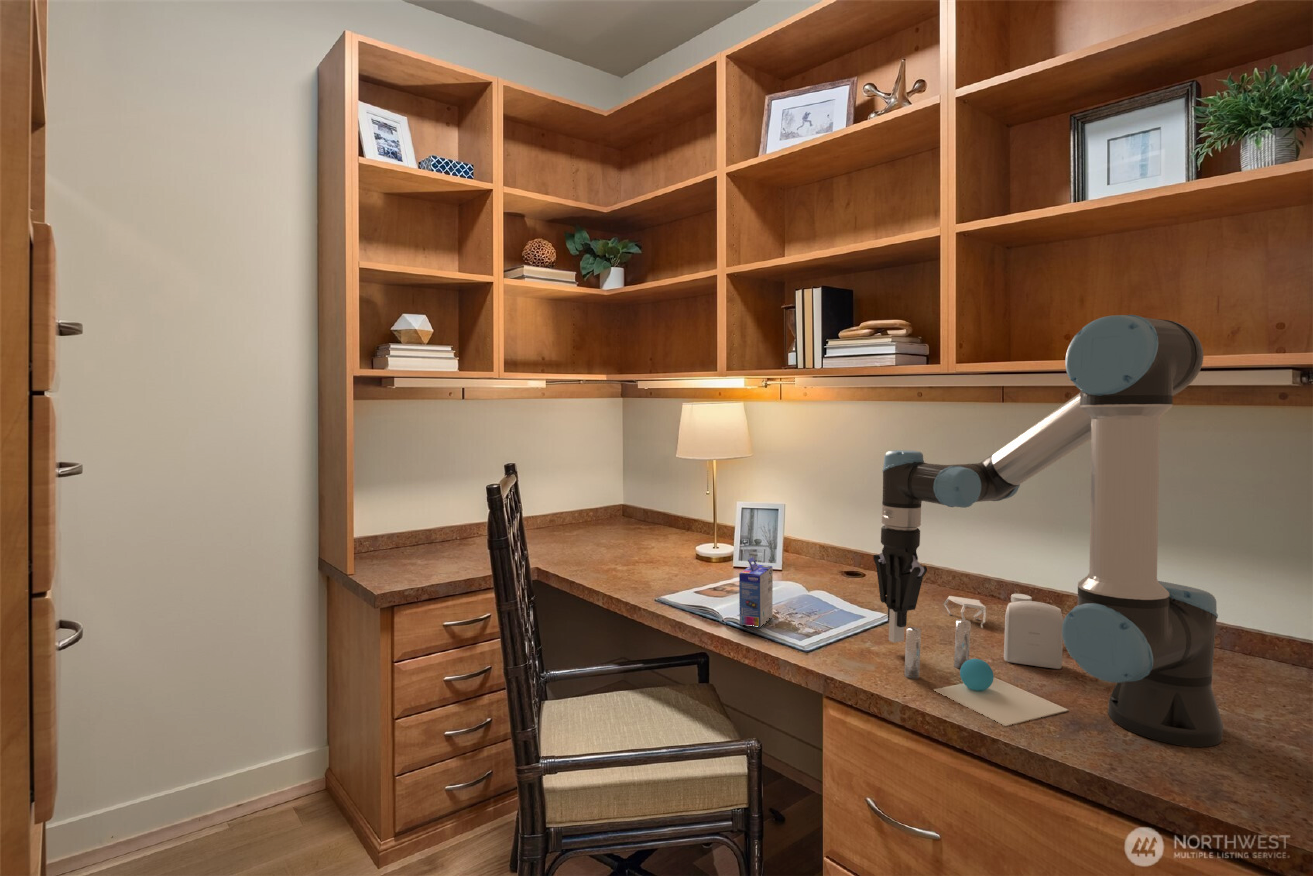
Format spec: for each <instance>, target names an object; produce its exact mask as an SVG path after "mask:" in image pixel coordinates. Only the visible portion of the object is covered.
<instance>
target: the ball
mask: <svg viewBox="0 0 1313 876" xmlns="http://www.w3.org/2000/svg"><path fill="white" fill-rule="evenodd" d="M993 671H994V670H993V669H992V667H991V666H990V665H989V664H988V663H987V662H986V661H984V660H982V659H980V658H969V660H967V661H966V662H964V663H963V665H962V666H961V669H959V675H960V676H959V677H960V680H961V681H962V683H964V684H965V685H966V686H967V687H968V688H970V689H972V690H975V691H983V690H986V689H987V688H989V687H990V686H991V684H992V682H993V678H994V677H995V676H994V672H993Z"/></svg>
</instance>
